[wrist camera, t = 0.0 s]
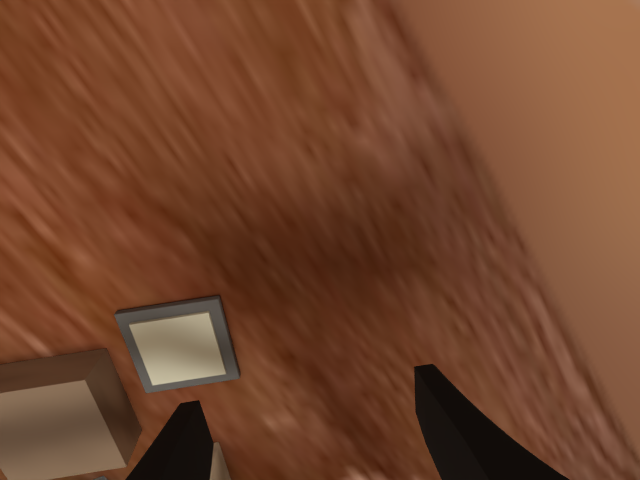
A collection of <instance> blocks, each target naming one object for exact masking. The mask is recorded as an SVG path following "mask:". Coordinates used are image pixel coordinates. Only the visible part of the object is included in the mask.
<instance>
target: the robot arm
mask: <svg viewBox="0 0 640 480" xmlns="http://www.w3.org/2000/svg"><path fill="white" fill-rule="evenodd" d="M414 372H415V406H416V414H417V418H418V421H419V424H420V427H421V430H422V433H423V436H424V439H425V442H426V445H427V447H428V449H429V452H430V454H431V456H432V459H433V461H434V463H435V465H436V468H437V470H438V472H439V474H440V477H441V479H442V480H569V479H568V478H566V477H565V476H563V475H561V474H560V473H558V472H557V471H555V470H554V469H553V468H551V467H550V466H548V465H547V464H545V463H544V462H543V461H541V460H540V459H538V458H537V457H536V456H534V455H533V454H532V453H530V452H529V451H528V450H526V449H525V448H524V447H522V446H521V445H520V444H518V443H517V442H516V441H515V440H513V439H512V438H511V437H510V436H508V435H507V434H506V433H505V432H504V431H503V430H501V429H500V428H499V427H498V426H497V425H495V424H494V423H493V422H492V421H491V420H490V419H489V418H487V417H486V416H485V415H484V414H483V413H482V412H481V411H480V410H479V409H478V408H476V407H475V406H474V405H473V404H472V403H471V402H470V401H469V400H468V399H467V398H466V397H465V396H464V395H463V394H462V393H461V392H460V391H459V390H458V389H457V388H456V387H455V386H454V385H453V384H452V383H451V382H450V381H449V380H448V379H447V378H446V377H445V376H444V375H443V374H442V373H441V372H440V371H439V369H438V368H437V367H436V366H434V365H433V364H428V365H422V366H416V367H414ZM213 446H214V443H213V440H212V437H211V434H210V431H209V428H208V425H207V422H206V419H205V416H204V413H203V410H202V407H201V404H200V401H199V400H198V401H192V402H185V403H180V405H179V406H178V407H177V409H176V410H175V412H174V413H173V414H172V416H171V417H170V419H169V420H168V422H167V423H166V425H165V426H164V427H163V429H162V430H161V432H160V433H159V435H158V436H157V438H156V439H155V440H154V442H153V443H152V445H151V446H150V447H149V449H148V450H147V451H146V453H145V454H144V456H143V457H142V458H141V460H140V461H139V462H138V464H137V465H136V467H135V468H134V469H133V471H132V472H131V473H130V474H129V476H128V477H127V478H126V479H125V480H210V474H211V466H212V456H213Z"/></svg>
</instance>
